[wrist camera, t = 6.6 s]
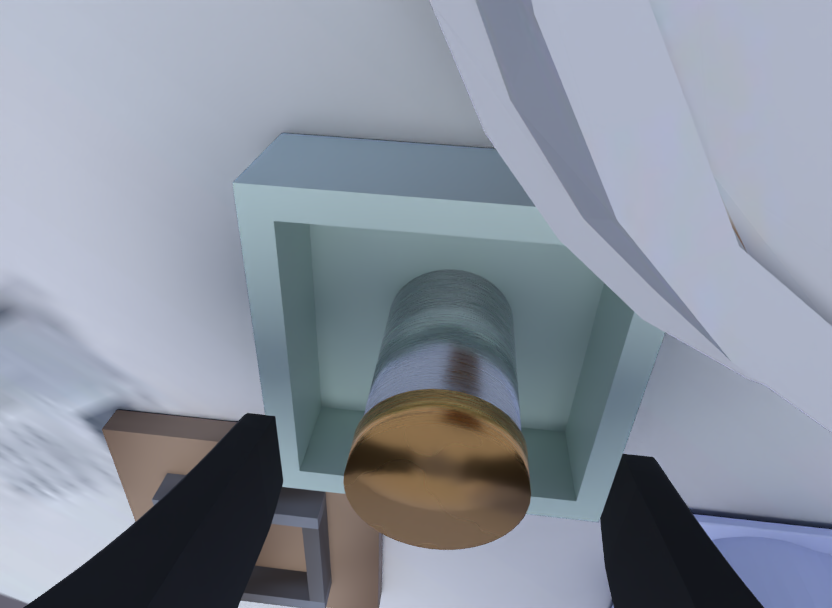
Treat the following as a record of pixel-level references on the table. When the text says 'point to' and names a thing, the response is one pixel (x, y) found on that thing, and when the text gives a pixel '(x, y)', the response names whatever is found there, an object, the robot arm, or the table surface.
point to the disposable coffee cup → (676, 162)
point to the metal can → (443, 419)
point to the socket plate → (291, 526)
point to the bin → (407, 259)
